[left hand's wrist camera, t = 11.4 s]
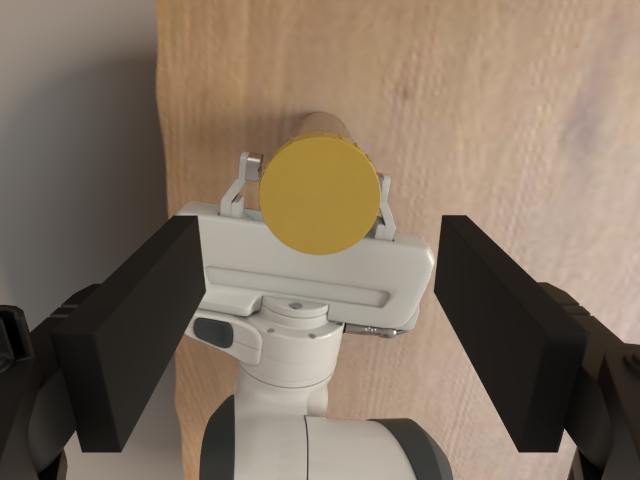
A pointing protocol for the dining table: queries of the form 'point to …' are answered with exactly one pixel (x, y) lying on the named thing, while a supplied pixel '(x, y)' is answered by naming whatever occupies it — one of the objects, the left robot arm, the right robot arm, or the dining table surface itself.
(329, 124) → the jar
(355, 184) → the lid
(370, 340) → the dining table surface
